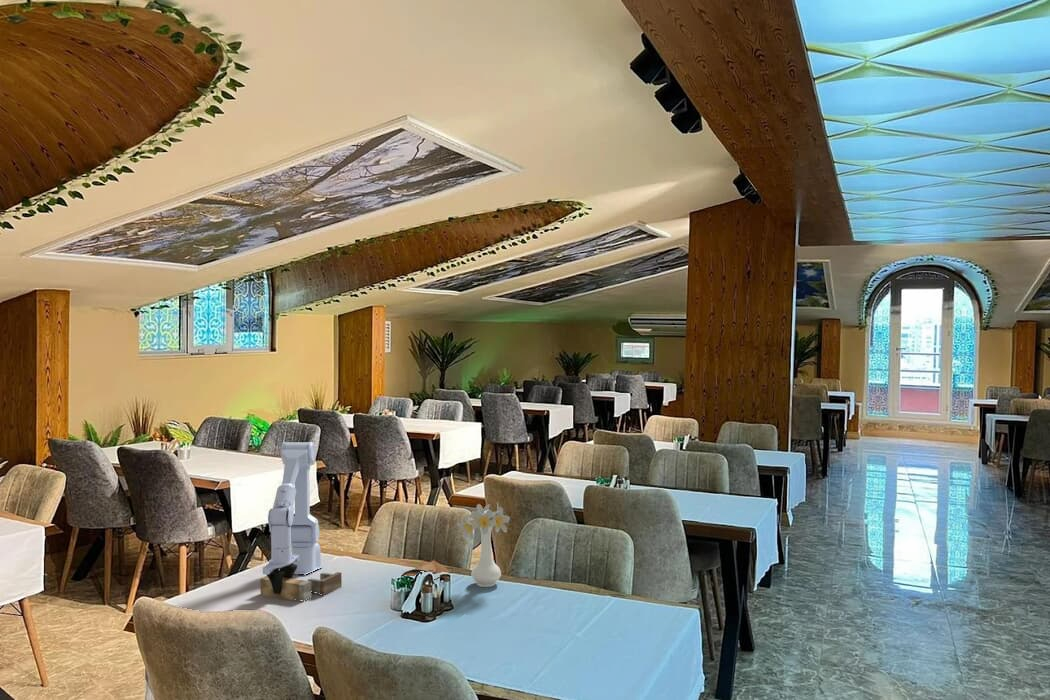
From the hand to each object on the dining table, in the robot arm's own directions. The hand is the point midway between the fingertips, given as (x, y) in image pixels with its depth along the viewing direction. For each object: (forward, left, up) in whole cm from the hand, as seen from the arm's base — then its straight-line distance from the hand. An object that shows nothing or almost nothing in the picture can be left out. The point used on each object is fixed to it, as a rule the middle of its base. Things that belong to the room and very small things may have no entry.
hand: (281, 591), depth 245 cm
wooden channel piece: (-9, +8, -1) cm, 12 cm away
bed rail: (0, +1, -1) cm, 2 cm away
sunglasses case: (-32, +32, -2) cm, 45 cm away
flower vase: (-32, +53, -2) cm, 62 cm away
